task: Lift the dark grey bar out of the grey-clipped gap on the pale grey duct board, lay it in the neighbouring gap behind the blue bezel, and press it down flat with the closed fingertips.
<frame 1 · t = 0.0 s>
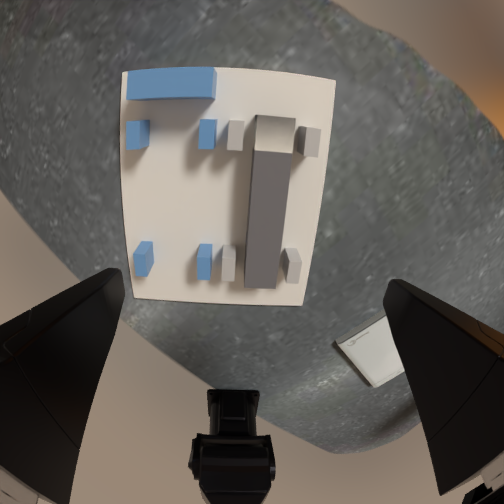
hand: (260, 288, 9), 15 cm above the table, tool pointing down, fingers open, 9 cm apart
hard drive: (382, 343, 32), on the table
dark grey bar: (265, 199, 23), resting on duct board
duct board: (219, 195, 23), on the table
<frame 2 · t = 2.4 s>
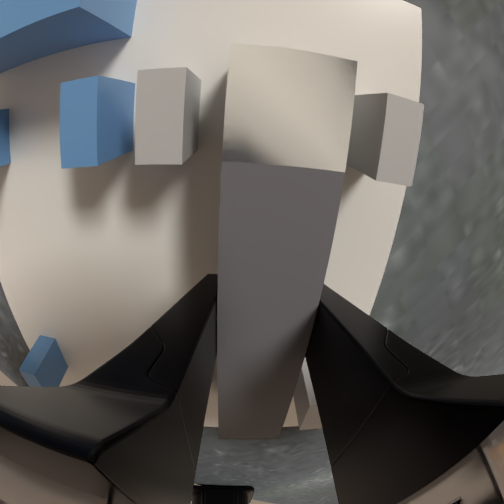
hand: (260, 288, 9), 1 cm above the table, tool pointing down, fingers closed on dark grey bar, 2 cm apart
dark grey bar: (259, 277, 10), resting on duct board, touching gripper
duct board: (156, 266, 10), on the table
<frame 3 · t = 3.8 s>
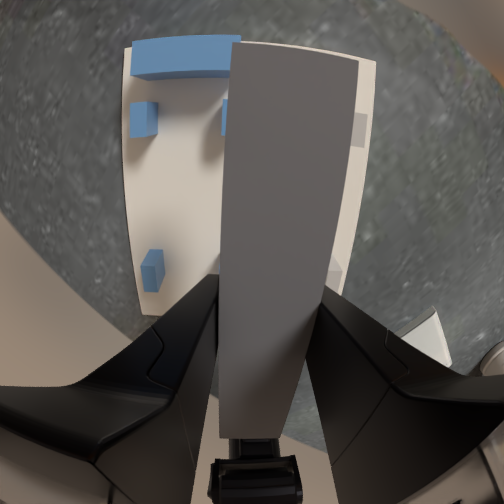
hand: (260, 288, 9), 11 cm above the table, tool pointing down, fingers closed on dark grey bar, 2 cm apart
hard drive: (411, 352, 29), on the table
travel mug: (492, 354, 31), on the table
dark grey bar: (260, 276, 10), point 10 cm above the table, touching gripper
duct board: (244, 193, 19), on the table
when the fingers open (2 cm above the table, at t = 5.4 s): dark grey bar drops 1 cm, resting on duct board.
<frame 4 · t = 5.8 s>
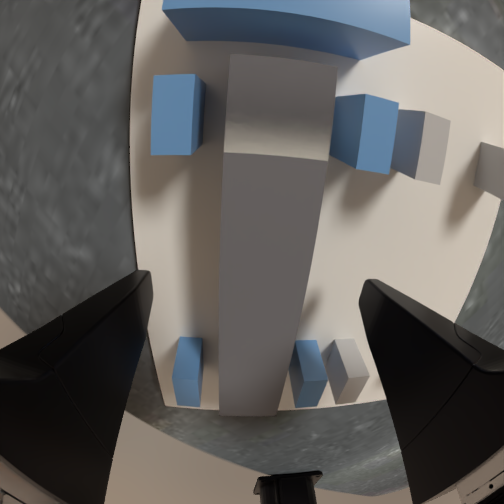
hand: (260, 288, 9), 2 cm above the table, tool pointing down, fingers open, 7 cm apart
dark grey bar: (256, 259, 11), resting on duct board
duct board: (343, 258, 11), on the table
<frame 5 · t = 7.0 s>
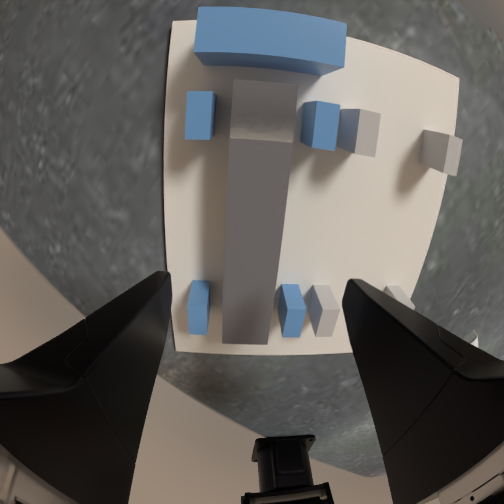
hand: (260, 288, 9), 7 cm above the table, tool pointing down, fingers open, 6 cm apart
dark grey bar: (251, 215, 15), resting on duct board
duct board: (315, 217, 16), on the table
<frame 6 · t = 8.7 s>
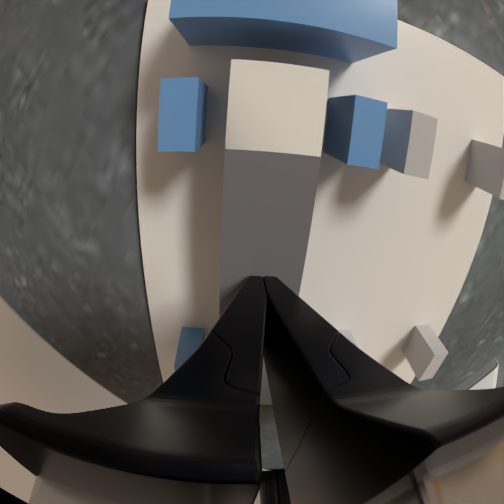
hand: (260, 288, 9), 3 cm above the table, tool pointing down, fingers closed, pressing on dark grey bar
hard drive: (460, 400, 22), on the table
dark grey bar: (255, 251, 11), resting on duct board, touching gripper
duct board: (338, 251, 12), on the table
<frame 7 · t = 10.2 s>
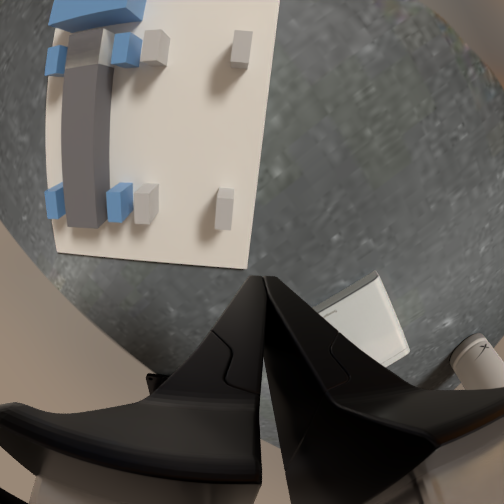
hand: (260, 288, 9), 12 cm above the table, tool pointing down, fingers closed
hard drive: (357, 330, 27), on the table
travel mug: (465, 348, 30), on the table
dark grey bar: (94, 126, 16), resting on duct board
duct board: (142, 124, 17), on the table
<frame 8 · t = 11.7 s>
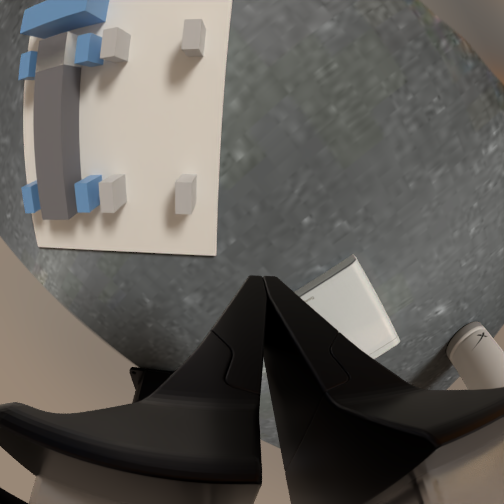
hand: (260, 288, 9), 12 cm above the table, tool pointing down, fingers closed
hard drive: (340, 319, 27), on the table
travel mug: (462, 338, 29), on the table
dark grey bar: (65, 123, 16), resting on duct board
duct board: (108, 118, 17), on the table
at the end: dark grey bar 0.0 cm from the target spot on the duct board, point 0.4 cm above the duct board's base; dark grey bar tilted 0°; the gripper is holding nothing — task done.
